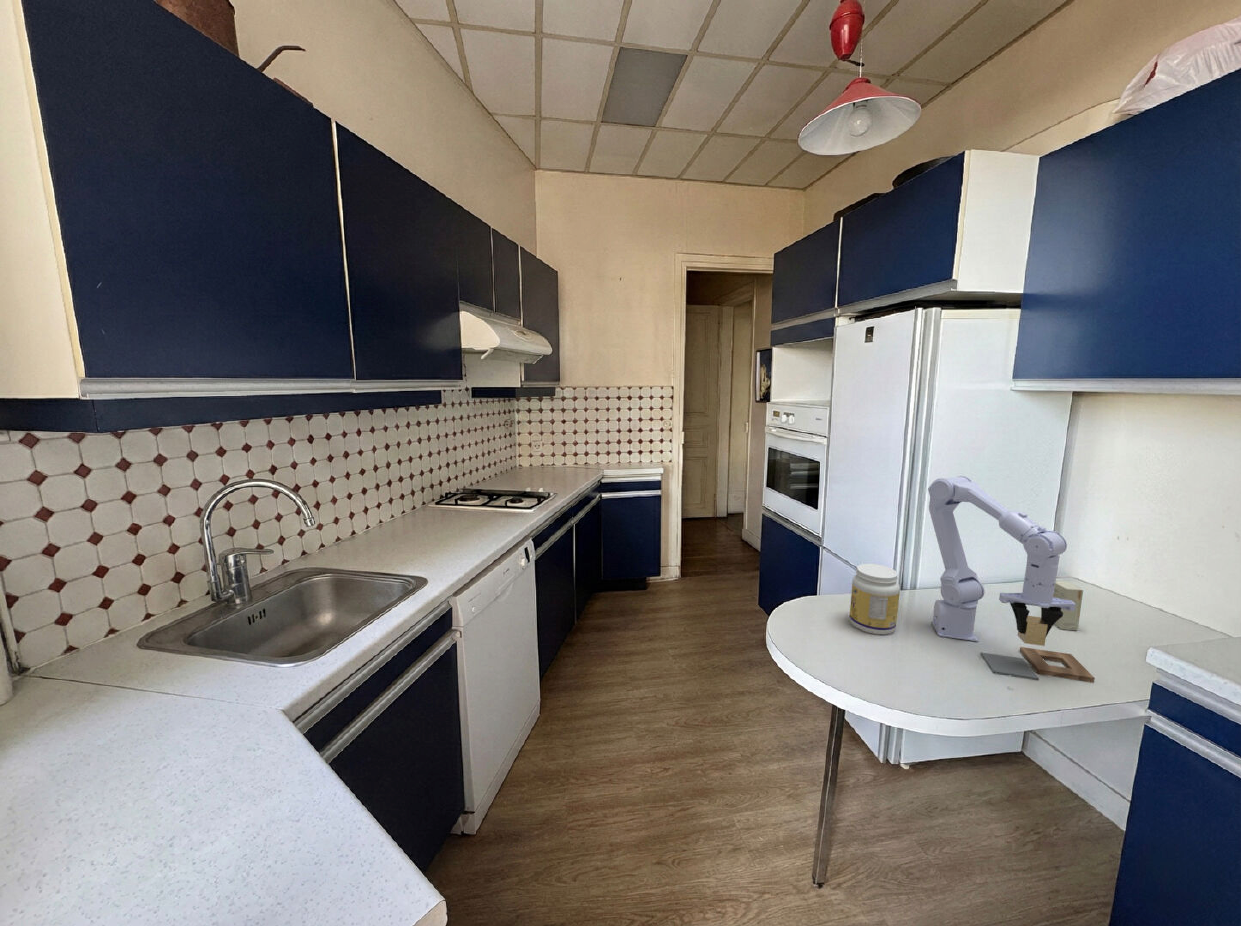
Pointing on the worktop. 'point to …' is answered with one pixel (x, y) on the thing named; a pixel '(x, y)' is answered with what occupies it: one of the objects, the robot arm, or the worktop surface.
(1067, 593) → the skincare box
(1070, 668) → the walnut square frame
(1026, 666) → the charcoal mat
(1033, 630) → the brass plug
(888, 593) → the supplement tub
